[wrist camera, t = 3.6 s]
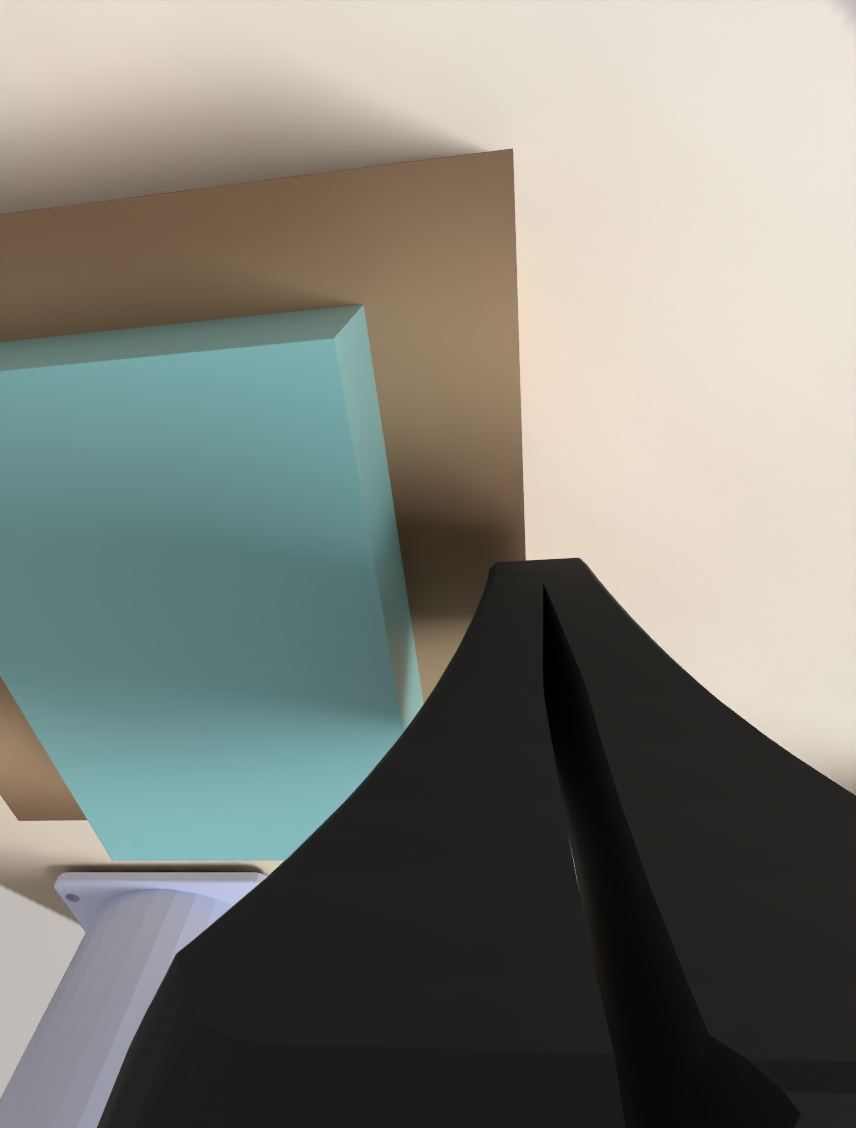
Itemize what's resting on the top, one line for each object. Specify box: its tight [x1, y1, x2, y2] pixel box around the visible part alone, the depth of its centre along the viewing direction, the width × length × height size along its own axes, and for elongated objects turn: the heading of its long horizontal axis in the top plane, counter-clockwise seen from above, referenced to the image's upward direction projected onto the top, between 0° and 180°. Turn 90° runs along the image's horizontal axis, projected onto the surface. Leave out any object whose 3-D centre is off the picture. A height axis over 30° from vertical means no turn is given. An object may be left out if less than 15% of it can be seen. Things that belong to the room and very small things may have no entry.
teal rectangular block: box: [0, 304, 423, 861], centre depth 10 cm, size 9×6×2 cm, turn 6°
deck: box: [0, 149, 526, 821], centre depth 13 cm, size 12×12×4 cm
